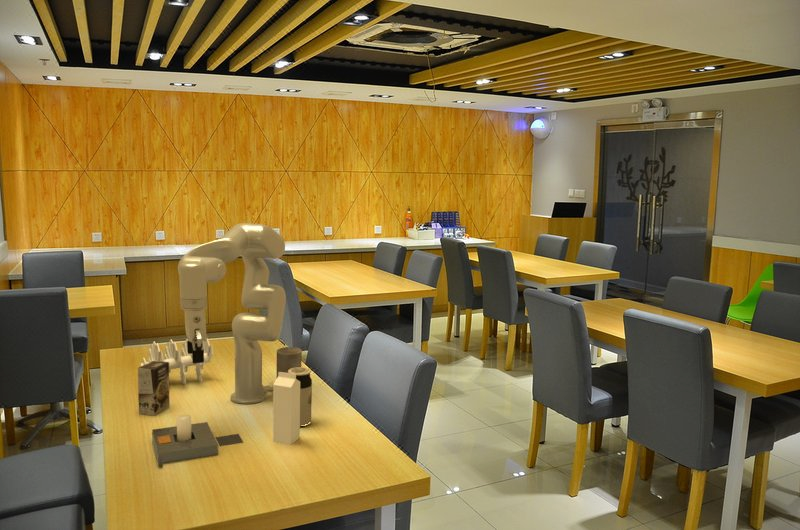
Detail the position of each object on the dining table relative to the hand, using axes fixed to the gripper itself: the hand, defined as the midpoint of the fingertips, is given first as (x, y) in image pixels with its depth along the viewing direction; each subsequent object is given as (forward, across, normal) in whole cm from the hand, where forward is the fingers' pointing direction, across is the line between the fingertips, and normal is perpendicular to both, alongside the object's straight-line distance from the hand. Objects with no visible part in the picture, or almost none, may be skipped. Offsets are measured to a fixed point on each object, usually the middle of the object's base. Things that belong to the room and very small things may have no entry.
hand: (195, 357), depth 190 cm
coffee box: (+26, +27, +10) cm, 39 cm away
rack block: (+25, -9, +5) cm, 27 cm away
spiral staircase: (+27, +52, 0) cm, 59 cm away
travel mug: (+26, -2, -32) cm, 41 cm away
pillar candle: (+28, +37, -40) cm, 61 cm away
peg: (+25, -9, +5) cm, 27 cm away
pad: (+25, -9, -8) cm, 28 cm away
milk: (+26, -15, -24) cm, 38 cm away
